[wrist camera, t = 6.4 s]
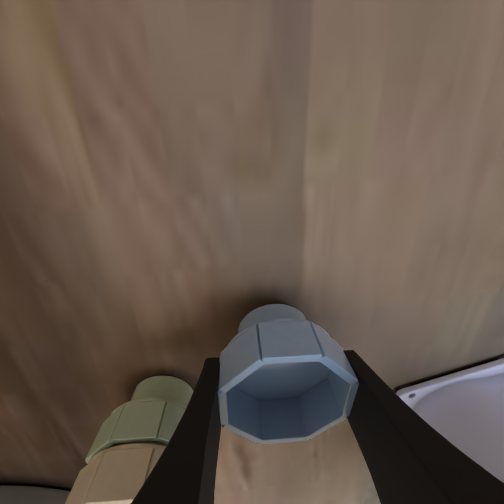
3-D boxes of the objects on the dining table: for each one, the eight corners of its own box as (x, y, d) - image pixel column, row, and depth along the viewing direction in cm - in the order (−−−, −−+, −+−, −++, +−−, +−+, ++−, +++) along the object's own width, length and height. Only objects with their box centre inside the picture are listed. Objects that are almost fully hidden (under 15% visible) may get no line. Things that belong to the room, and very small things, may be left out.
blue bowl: (329, 288, 12) (369, 352, 8) (316, 363, 14) (343, 438, 11) (220, 292, 12) (213, 360, 8) (225, 368, 14) (222, 447, 11)
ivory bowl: (196, 398, 13) (182, 495, 10) (205, 450, 16) (196, 544, 12) (94, 404, 13) (39, 508, 9) (119, 457, 15) (83, 555, 12)
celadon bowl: (201, 364, 15) (191, 434, 12) (208, 415, 18) (201, 487, 14) (112, 369, 15) (73, 442, 11) (132, 421, 17) (105, 495, 14)
